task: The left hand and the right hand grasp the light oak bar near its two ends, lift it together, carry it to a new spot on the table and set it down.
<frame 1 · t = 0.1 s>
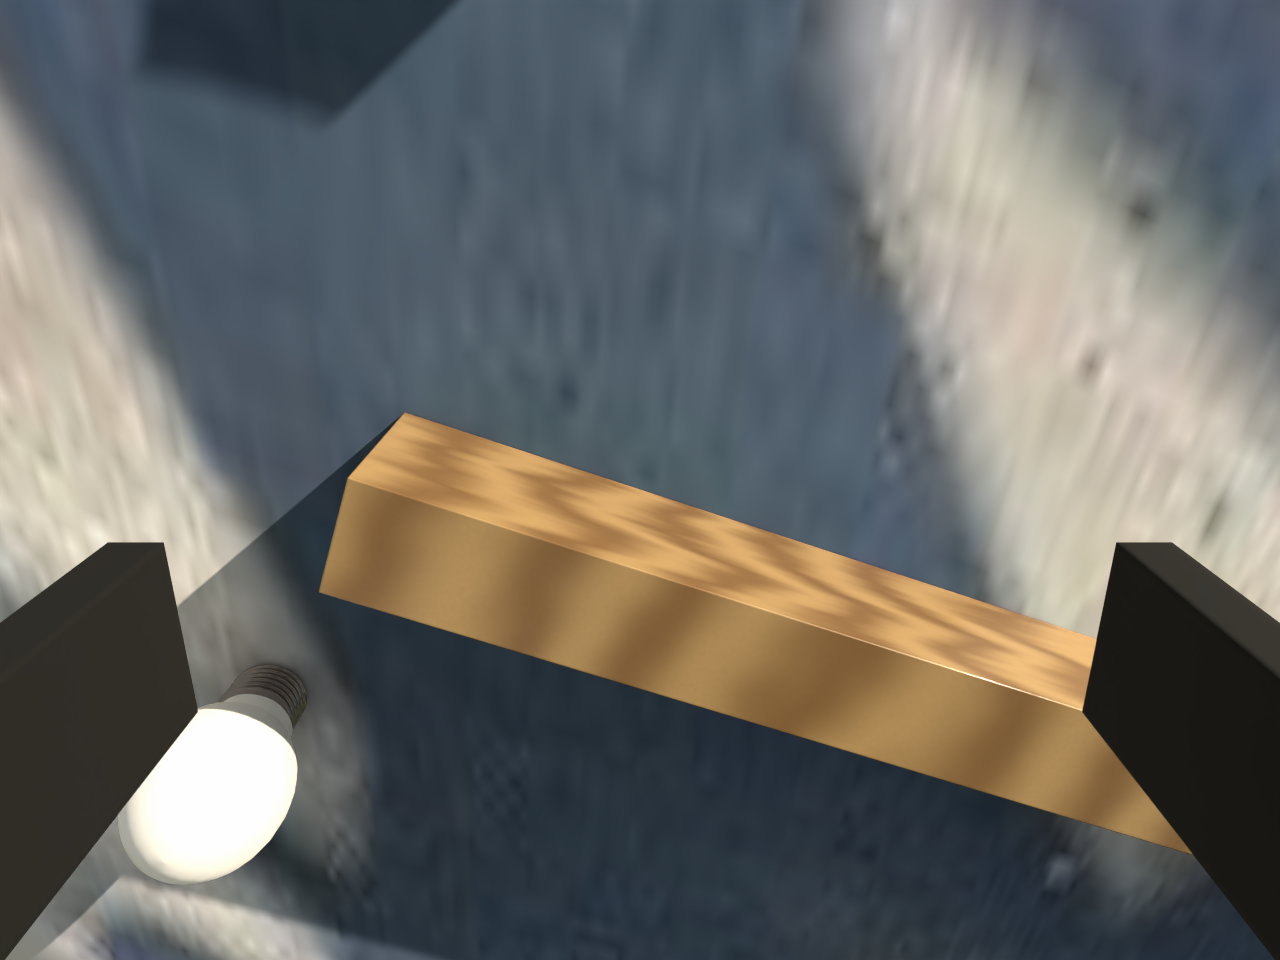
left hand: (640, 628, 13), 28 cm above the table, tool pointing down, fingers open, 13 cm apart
light bulb: (272, 697, 46), on the table
bar: (1000, 656, 45), on the table
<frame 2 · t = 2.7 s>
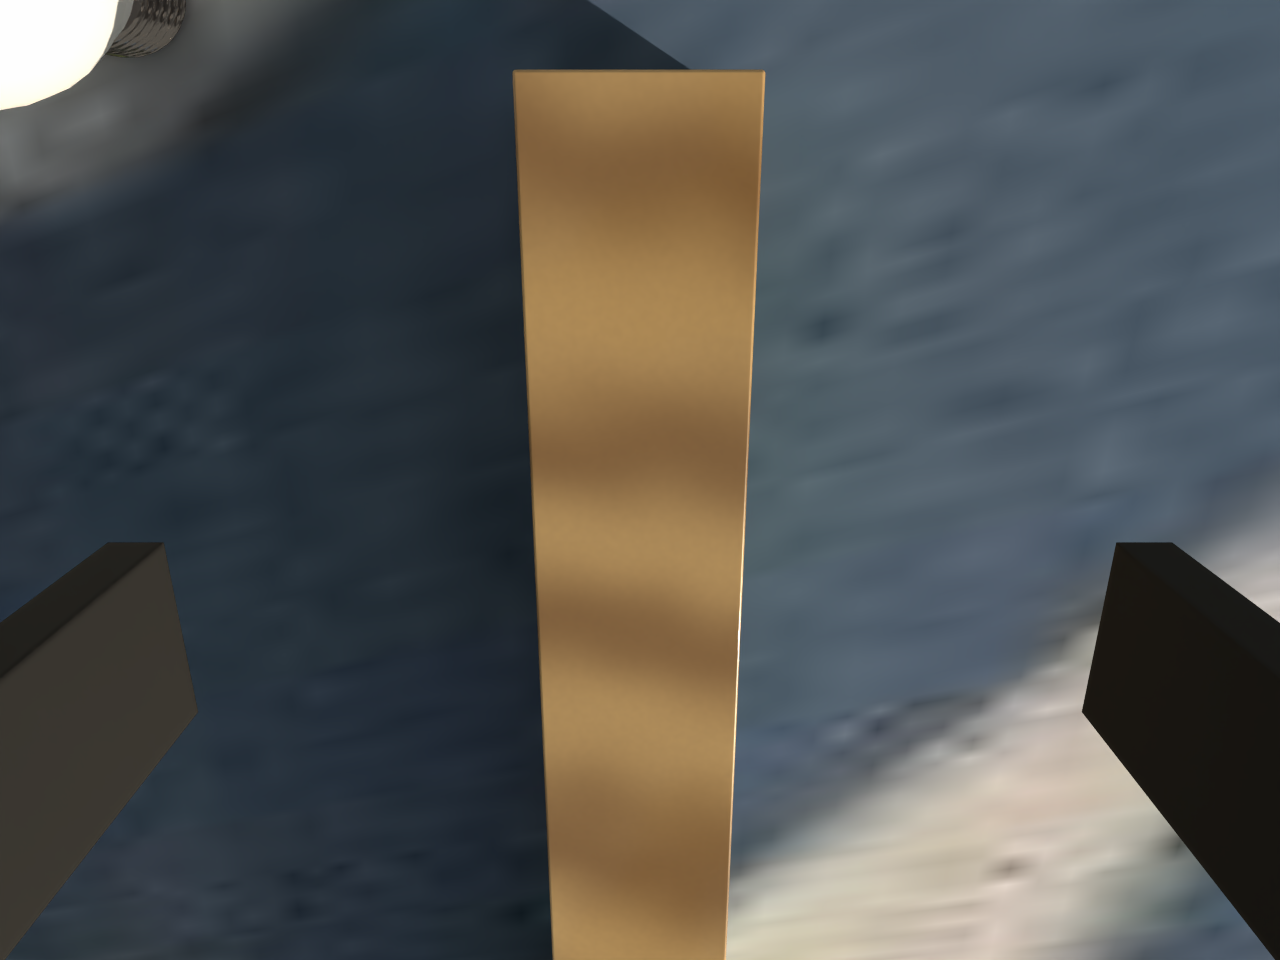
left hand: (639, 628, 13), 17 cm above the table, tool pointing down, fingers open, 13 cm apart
bar: (639, 930, 37), on the table, touching right hand
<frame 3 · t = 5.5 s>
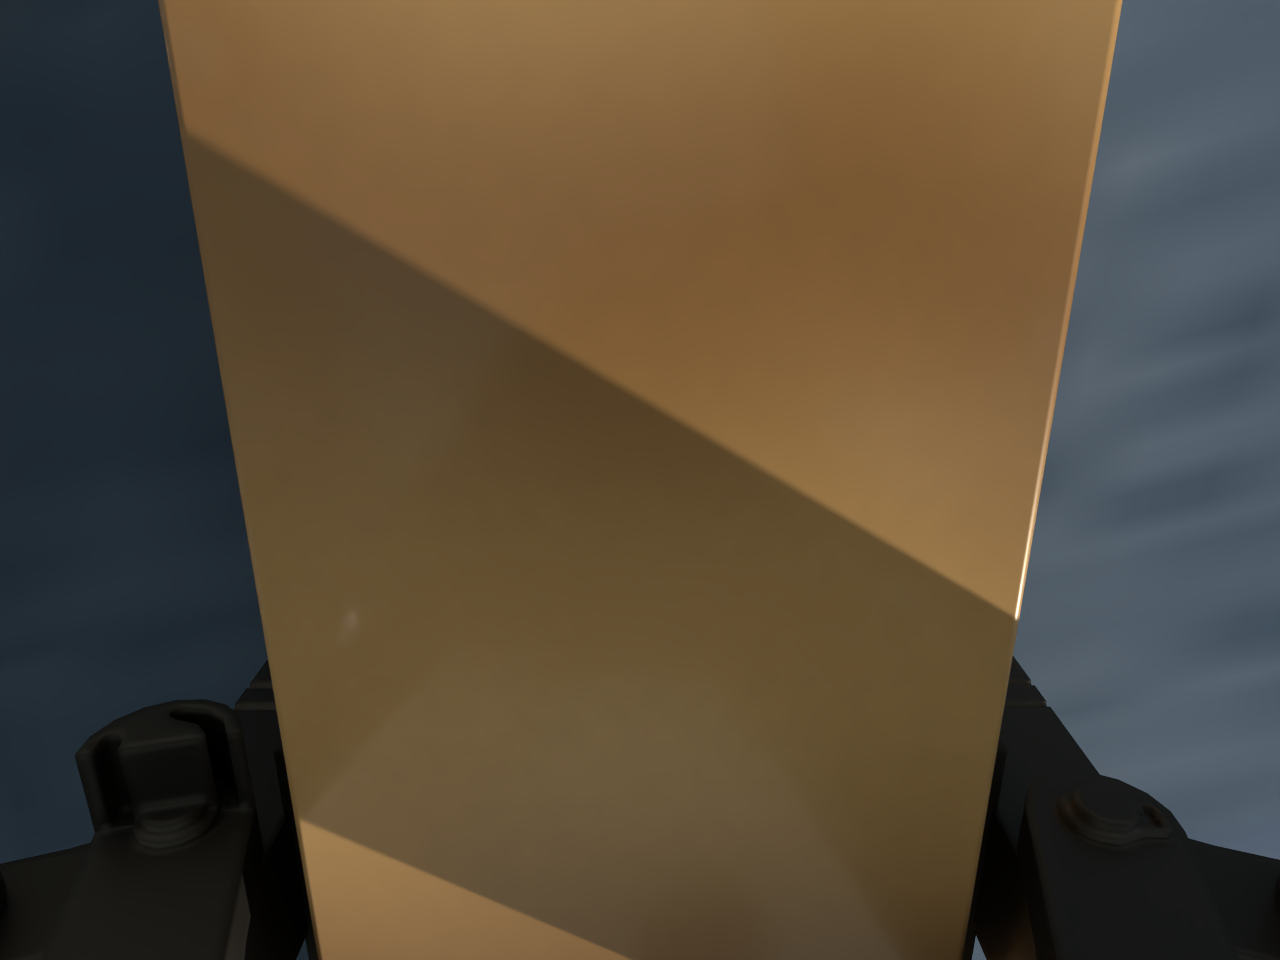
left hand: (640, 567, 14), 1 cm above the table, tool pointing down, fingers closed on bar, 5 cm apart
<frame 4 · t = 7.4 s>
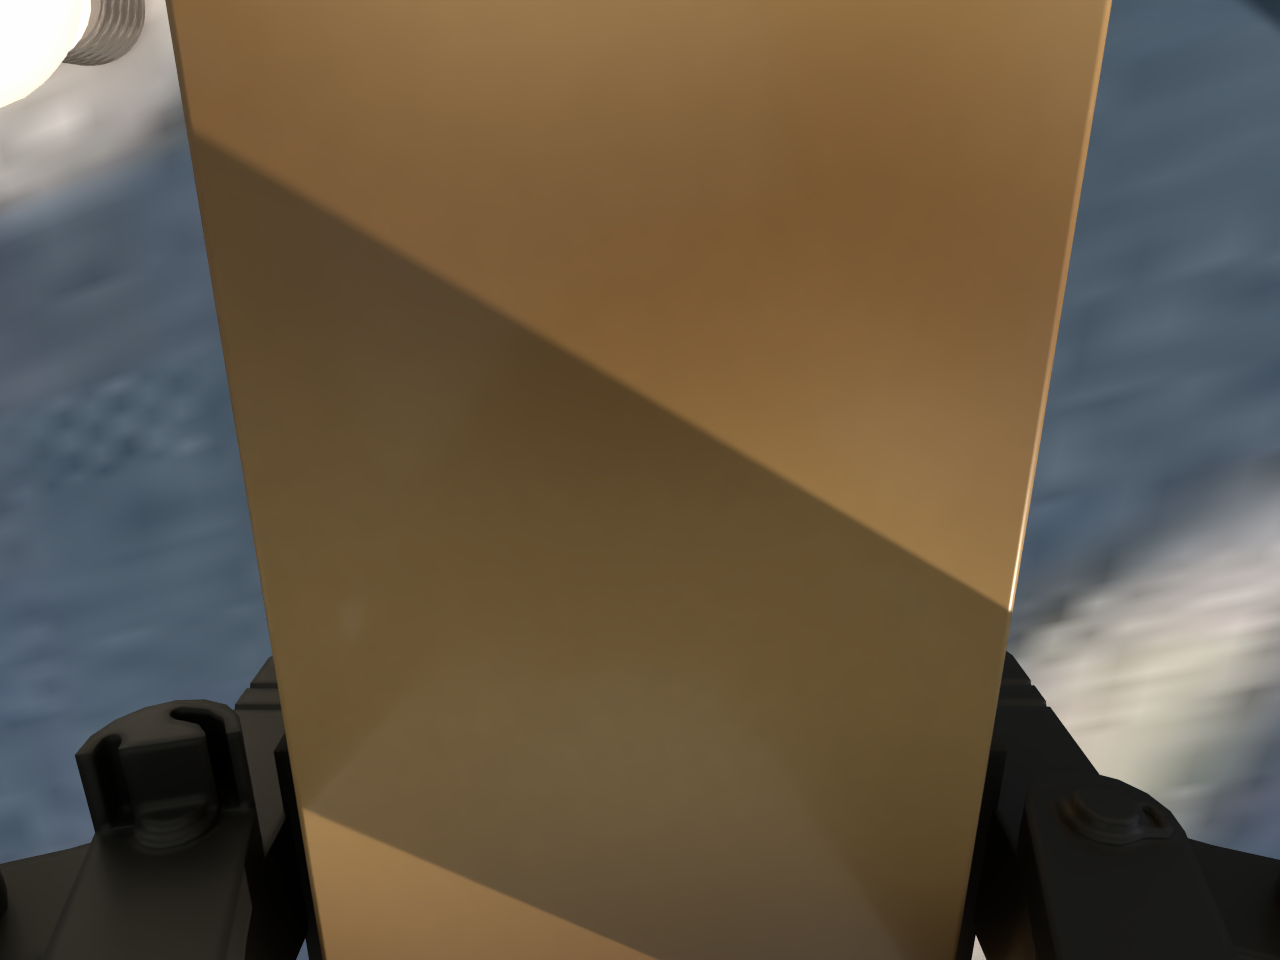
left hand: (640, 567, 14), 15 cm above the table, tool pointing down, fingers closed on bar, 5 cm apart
when the left hand's fingers open (2 cm above the table, at t = 12.0 s): bar drops 1 cm, on the table.
when the right hand's fingers open (5 cm above the table, at t = 12.2 s): bar stays where it is, on the table.
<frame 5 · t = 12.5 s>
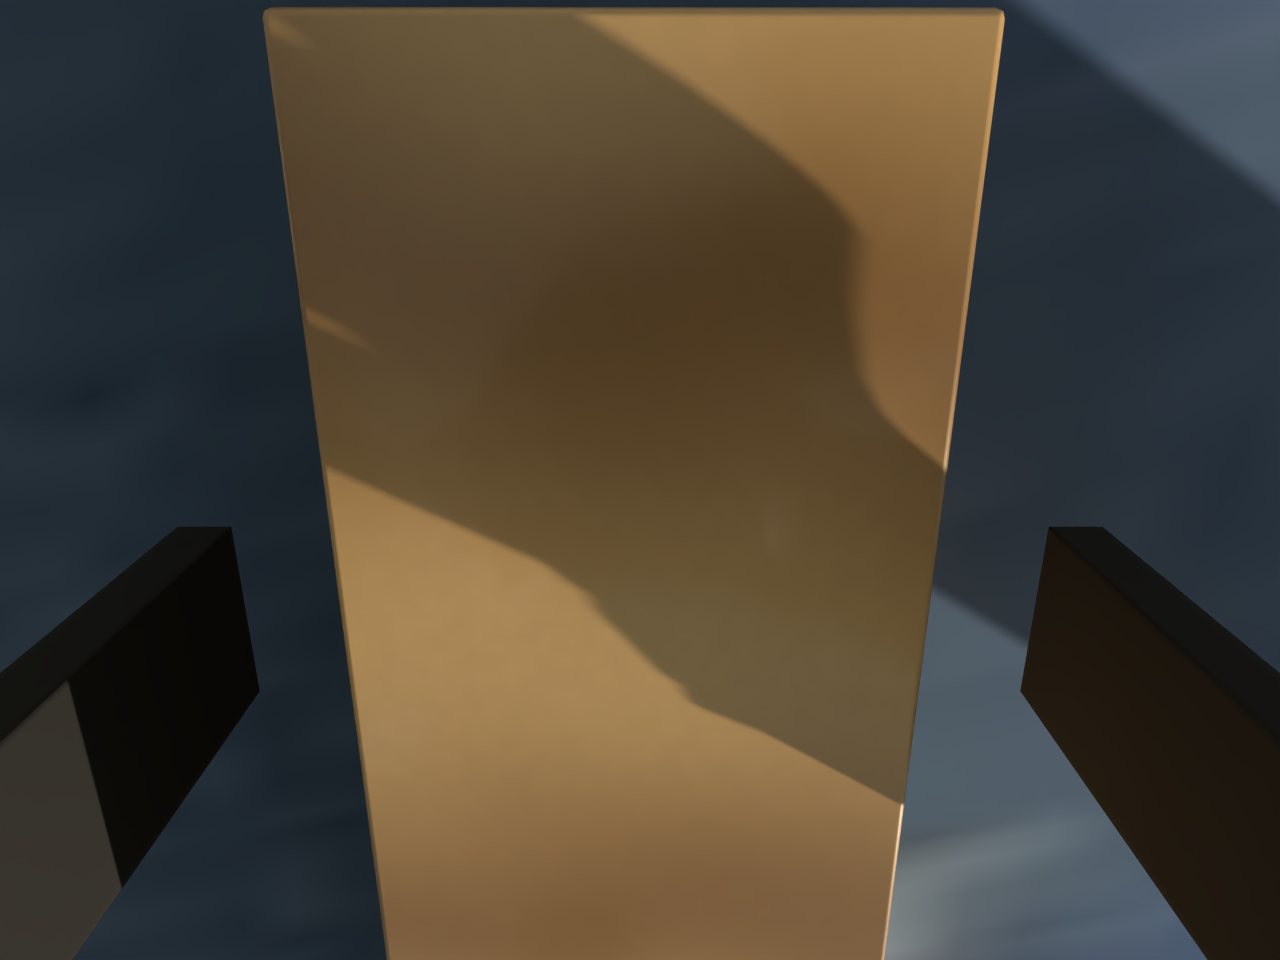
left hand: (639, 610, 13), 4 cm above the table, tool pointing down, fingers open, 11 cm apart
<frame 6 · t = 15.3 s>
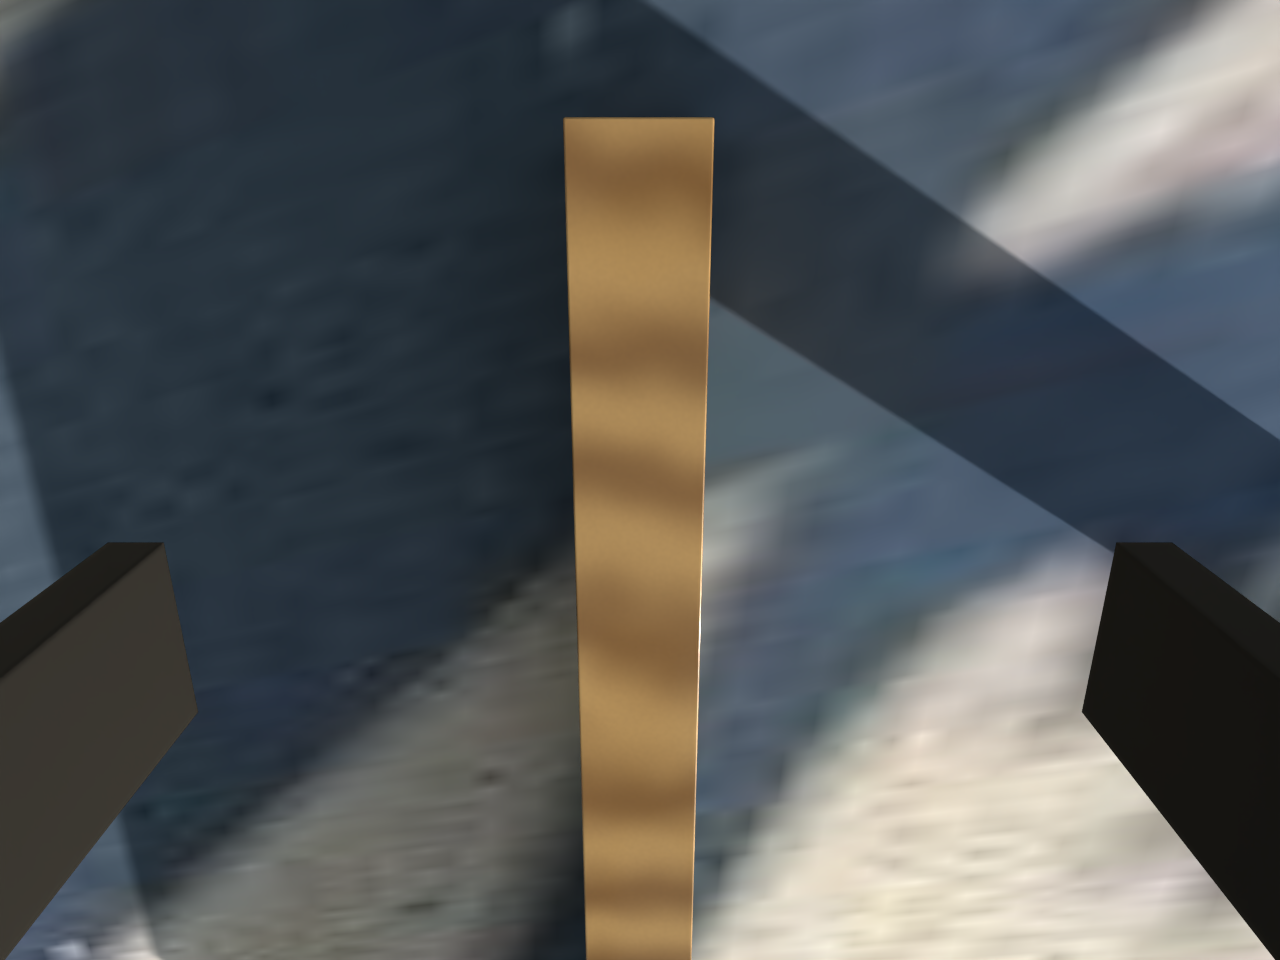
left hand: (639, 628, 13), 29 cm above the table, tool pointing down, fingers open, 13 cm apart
bar: (638, 747, 48), on the table
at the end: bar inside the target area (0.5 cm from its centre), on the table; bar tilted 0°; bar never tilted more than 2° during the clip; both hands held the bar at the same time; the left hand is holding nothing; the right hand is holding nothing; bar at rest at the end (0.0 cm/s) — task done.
